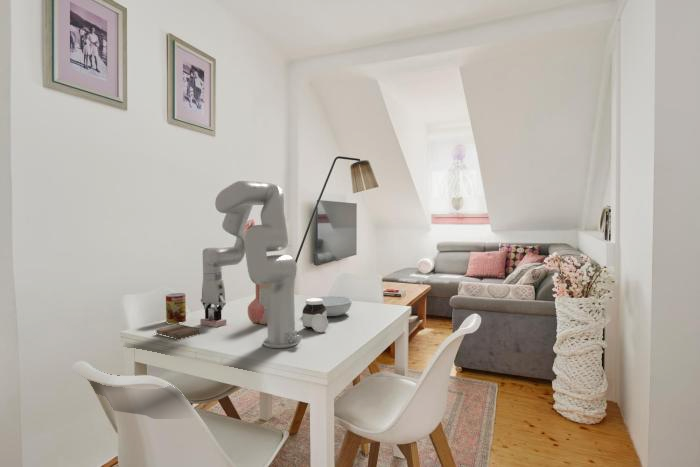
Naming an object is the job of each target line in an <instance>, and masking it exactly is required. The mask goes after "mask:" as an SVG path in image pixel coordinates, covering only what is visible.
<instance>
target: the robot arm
mask: <svg viewBox="0 0 700 467" xmlns="http://www.w3.org/2000/svg"><path fill="white" fill-rule="evenodd" d="M214 203H215V204H214V205H215V209H216V210H217V212H218V213H222V214H225V216H224V219H223V220H222V225H221V227H222V229H223V231H225V232H227V233H228V234H230V235H232V236H234V237H236V239H235V243H234V245H233V246H232V247H231V246H230V247H206V248H204V249H203V250H202V285H201V286H202V287H201V299H200V302H201V303H202V306H203V310H204V318H205V319H208V308H209V307H212V305H213V307H215V311H214V320H215V321H217V320H221V319H222V311H223V308H224V306H225V305H226V304H227V302H226V291H225V283H224V280H223V277H222V276H223V274H222V273H223V272H222V270H223V269H222V267H226V266H234V265H239V264H240V263H241V262H242V261H243V259H244V257H245V258H246V267H247V273H248V276H249V278H250V281H251V282H252V283H253V284H255V285H258V286H259V285H263V284H269V283H271V284H270V286H269V289H268V293H267V317H268V325H267V338H264V339H263V344H262V345H264V346H265V347H267V348H270V349H286V348H291V347H294V346H297V345H298V344H299V343H301V340H303V335H301V334H298V330H296V328H295V327H296V325H295V324H296V323H295V283H296V278H297V270H298V269H297V268H298V267H297V262H296V260H295V258H293V256H291V255H290V254H273V255H272V254H271V255H267V253H270V252H271V253H272V252H279V251H283V250H285V249H286V248H287V247H288V245H289V235H288V229H287V222H286V216H285V197H284V192H283V191H282V188H281V187H279V186H278V185H277V184H274V183H269V182H264V181H263V182H262V181H261V182H260V181H248V180H239V181H235V182H233V183H232V184H230V185H228V186H227V187H225V188H223V189H222V190H220V192H219V193H218V194H217V195H216V198H215V202H214ZM254 206H262V208H261V211H260V222H261V224H255V225H251V226H250V227H248V229H247V230H246V231H244V229H245V227H246V225H247V222H248V219H249V216H250V215H251V211H252V208H253V207H254Z"/></svg>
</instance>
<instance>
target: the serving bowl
mask: <svg viewBox="0 0 700 467" xmlns="http://www.w3.org/2000/svg"><path fill="white" fill-rule="evenodd" d="M314 298H320V299H323V305H324V306H325V307H326V311H327V316H335V317H338V316H341V315H344V314H345V313H347V312H348V311H349V310H350V308H351V306H352V299H351V298H349V297H347V296H340V295H339V296H338V295H325V296H324V295H321V296H316V297H314Z"/></svg>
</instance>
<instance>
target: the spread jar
mask: <svg viewBox="0 0 700 467" xmlns="http://www.w3.org/2000/svg"><path fill="white" fill-rule="evenodd" d="M301 317H302V318H301V320H302V326H303V328H305V329H306V330H308V331H314V332H316V333H319V332H320V333H323V332H326V330H328V327H329V320H328V317H327V311H326V307H325V306H324V305H323V299H320V298H315V297H312V298H307V299H306V300H305V305H304V307H303V309H302V313H301Z"/></svg>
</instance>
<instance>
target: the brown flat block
mask: <svg viewBox="0 0 700 467" xmlns="http://www.w3.org/2000/svg"><path fill="white" fill-rule="evenodd" d="M155 331H156V333H155V334H157V333H158V334H162V335H166V336H169V337H173V338H176V339H180V340H182V339H181V338H184V339H186V338H185V337H187V338H190V337H189V336H191V337H194V336H198V335H200V334H201V332H200V331H201V330H200V328H199V327H193V326H190V325H184V324H181V323H177V324H172V325H170V326H165V327H162V328H161V327H160V328H158V329H155ZM197 334H198V335H197ZM193 335H194V336H193ZM176 339H175V340H176Z"/></svg>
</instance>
